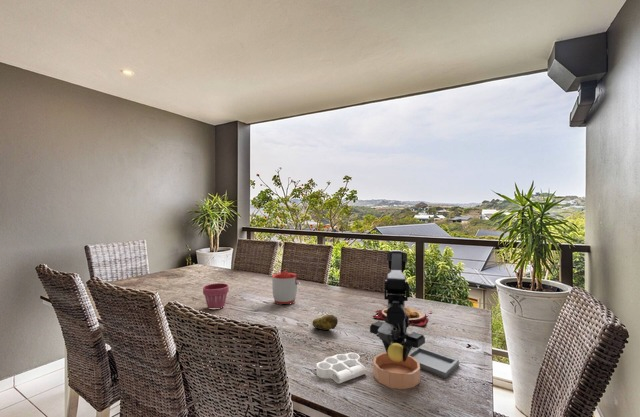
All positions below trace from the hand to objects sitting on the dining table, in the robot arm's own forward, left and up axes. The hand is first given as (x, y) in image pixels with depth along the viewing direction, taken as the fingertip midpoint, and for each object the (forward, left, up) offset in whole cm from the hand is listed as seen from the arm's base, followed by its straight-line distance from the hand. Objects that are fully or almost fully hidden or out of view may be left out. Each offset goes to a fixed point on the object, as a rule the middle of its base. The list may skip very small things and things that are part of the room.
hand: (396, 357), depth 107 cm
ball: (0, 0, +2) cm, 2 cm away
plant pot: (-114, -10, -6) cm, 115 cm away
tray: (+5, +16, -6) cm, 18 cm away
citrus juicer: (-92, +25, -6) cm, 96 cm away
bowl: (0, 0, -6) cm, 6 cm away
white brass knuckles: (-16, -11, -7) cm, 21 cm away
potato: (-45, +11, -6) cm, 47 cm away
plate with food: (-29, +55, -7) cm, 63 cm away
